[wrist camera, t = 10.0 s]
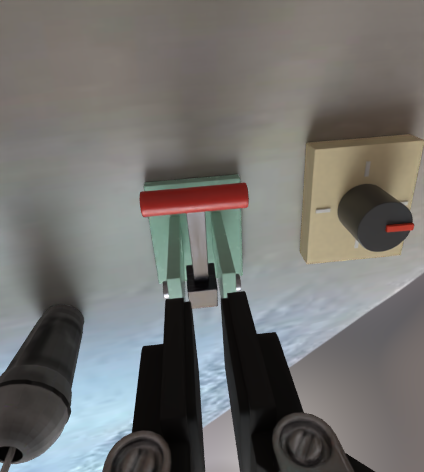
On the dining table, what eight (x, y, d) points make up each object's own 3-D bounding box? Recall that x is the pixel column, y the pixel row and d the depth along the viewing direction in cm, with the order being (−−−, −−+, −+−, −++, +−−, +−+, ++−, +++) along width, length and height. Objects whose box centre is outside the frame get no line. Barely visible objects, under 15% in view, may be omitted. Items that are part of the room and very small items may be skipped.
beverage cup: (99, 298, 41) (39, 494, 23) (93, 347, 44) (37, 551, 26) (29, 290, 39) (-90, 490, 22) (29, 340, 43) (-75, 550, 25)
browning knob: (334, 231, 36) (355, 256, 32) (340, 185, 34) (363, 205, 30) (381, 227, 36) (408, 251, 32) (390, 181, 34) (420, 201, 30)
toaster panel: (306, 142, 34) (315, 149, 32) (409, 133, 35) (426, 140, 32) (299, 252, 40) (307, 265, 38) (388, 243, 40) (401, 256, 38)
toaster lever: (139, 180, 21) (139, 212, 19) (244, 171, 21) (250, 201, 20) (165, 285, 30) (166, 311, 29) (237, 278, 31) (241, 303, 29)
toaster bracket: (144, 182, 35) (130, 241, 24) (238, 174, 35) (263, 228, 25) (159, 277, 40) (153, 359, 30) (241, 269, 40) (262, 348, 30)
